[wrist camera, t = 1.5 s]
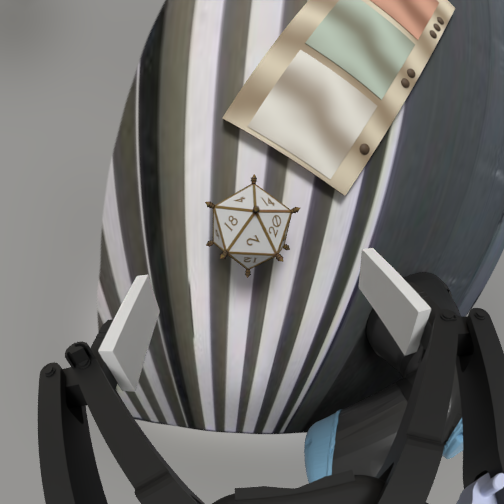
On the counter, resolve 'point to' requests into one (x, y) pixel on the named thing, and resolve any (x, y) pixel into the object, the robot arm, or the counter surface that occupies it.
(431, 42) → the board
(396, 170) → the counter surface
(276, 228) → the game die
